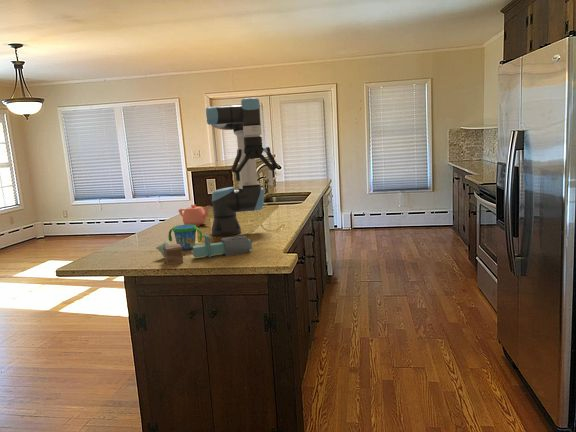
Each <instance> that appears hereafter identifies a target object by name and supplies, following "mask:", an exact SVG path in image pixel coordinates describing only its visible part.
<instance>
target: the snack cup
mask: <svg viewBox="0 0 576 432" xmlns="http://www.w3.org/2000/svg"><path fill="white" fill-rule="evenodd" d="M172 232H173V233H174V238H175V242H176V244H180V245H181V247H182V251H183V250H193V247H192V246H196V232H198V234H199V241H200V242H202V241H203V233H202V230H201V229H200V228H199V226H198V227H196V225H185V224H180V225H175V226H173V227H172V228H171V229H170V230H169V232H168V241H169V242H172V241H173V237H172Z"/></svg>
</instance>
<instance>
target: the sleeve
mask: <svg viewBox="0 0 576 432" xmlns="http://www.w3.org/2000/svg"><path fill="white" fill-rule="evenodd" d="M248 239H249V237H247V236H246V235H235V236H227V237H221V238H220V240H221V241H220V242H224V243H225V253H223V254H222V255H224V256H225V257H229V256H236V255H237V254H238V255H243V254H242V253H245V254H249V253H250V250H249V242H248ZM238 255H237V256H238Z"/></svg>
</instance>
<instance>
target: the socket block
mask: <svg viewBox="0 0 576 432" xmlns="http://www.w3.org/2000/svg"><path fill="white" fill-rule="evenodd" d="M164 247H165V256H166V257H165V262H166V263H167V265H174V264H175V265H176V264H182V263H184V258H183V257H184V256H183V250H182V247H181V245H180V244H177V243H174V244H171V245H165V246H164Z"/></svg>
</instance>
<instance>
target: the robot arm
mask: <svg viewBox="0 0 576 432" xmlns="http://www.w3.org/2000/svg"><path fill="white" fill-rule="evenodd" d="M205 113H206V124H207V125H210V126H212V127H213V128H215V129H219V130H224V131H229V130H231V131H232V130H233V134H234V135H235V136H236V139H237V140H236V143H237V149H236V157H235V158H234V161H233V163H232V166H231V169H230V172H232V173H234V174H235V180H236V182H238V186H237V187H238V189H235V187H234V186H229V187H223V188H219V189H216V190H215V189H214V190H213V191H212V193H211V202H212V209H213V210H212V212H213V213H212V214H213V222H212V225H211V229H210V230H211V235H213V236H217V237H218V236H219V237H220V236H221V237H223V236H234V235H237V234H240V233H241V232H242V228H241V225H240V223H239V220H238V217H237V213H241V212H255V211H261V210H262V209H263V207H264V202H265V201H264V200H265V188H264V187H262V186H261V183H260V182H259V181H258V175H257V174H258V173H257V165H256V163H257V162H256V161H257V160H256V159H260V160H261V161H262V162H263V163H264V164H265V165H266V167H267V168H268V169H269V170H268V184H269V187H270V186H271V187H273V186H274V178H275V175H276V174H275V171H276V169H279V165H278V163H277V162H276V160H275V158H274V156H273V154H272V153H271V148H270V147H269V146H265V147H263V137H262V136H261V135H262V123H261V121H262V120H261V105H260V100H259V98H258V97H245V98H242V99H241V100H240V105H224V106H223V105H221V106H220V105H219V106H215V105H214V106H208V107H206V108H205ZM263 153H266V156H267V157H268V159H269V160H268V159H267V158H265V157H266V156H264V155H263ZM269 161H270V162H269Z"/></svg>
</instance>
